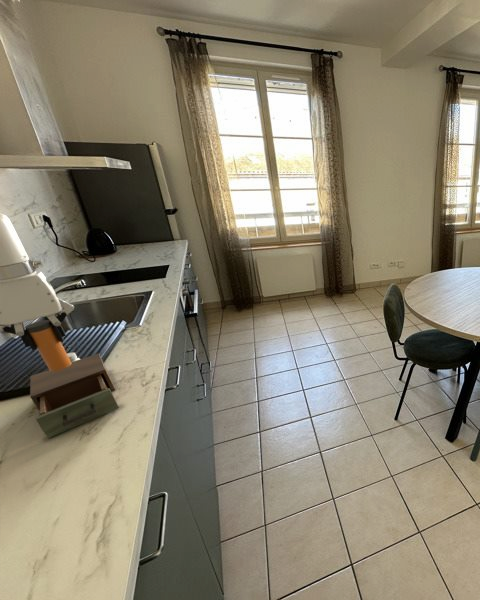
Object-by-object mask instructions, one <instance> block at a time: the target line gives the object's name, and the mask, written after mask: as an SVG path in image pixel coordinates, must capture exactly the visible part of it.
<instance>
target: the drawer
mask: <svg viewBox="0 0 480 600" xmlns="http://www.w3.org/2000/svg"><path fill="white" fill-rule="evenodd" d="M112 392H113V391H112ZM112 392H111V390H110V388H107V386H106V384H105V382H104V380H103V378H102V376H101V374H99V375H97V376H94V377H91V378H88V379H86V380H83V381H80V382H78V383H75V384H72V385H69V386H67V387H64V388H61V389H59V390H56V391H53V392H50V393H48V394H45V395H42V396H40V412H39V414H40V415H38V416H36V417H35V421H36V422H37V424H38V426H39V427H40V429H41V430H42V432H43V433H44V435H45V436H46V438H47V439H50V438H52V437H54V436H57V435H59V434H62V433H65V432H66V431H69V430H71V429H73V428H75V427H78V426H80V425H82V424H85V423H87V422H89V421H91V420H94V419H96V418H99V417H101V416H103V415H106V414H108V413H110V412H112V411H114V410H117V409H119V408H120V407H119V404H118V402H117V400H116V398H115V396H114V394H113V393H112Z"/></svg>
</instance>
